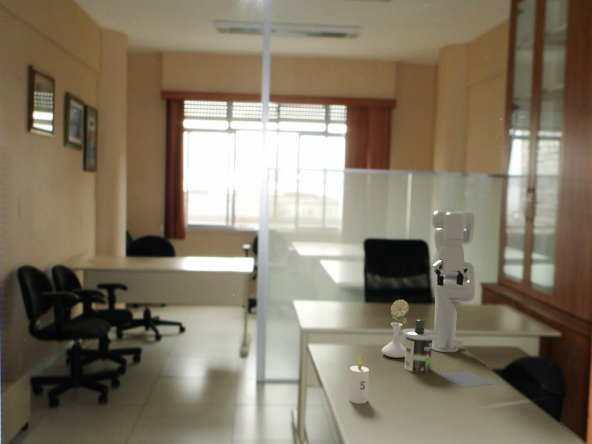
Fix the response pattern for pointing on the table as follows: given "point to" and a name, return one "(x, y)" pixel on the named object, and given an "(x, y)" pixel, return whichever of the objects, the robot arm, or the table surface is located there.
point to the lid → (419, 332)
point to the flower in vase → (397, 330)
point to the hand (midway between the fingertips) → (449, 285)
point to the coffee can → (418, 355)
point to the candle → (358, 383)
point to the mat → (465, 379)
